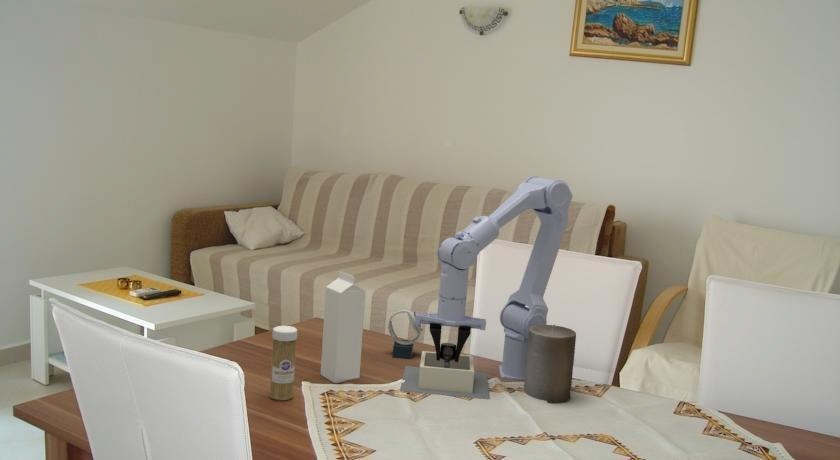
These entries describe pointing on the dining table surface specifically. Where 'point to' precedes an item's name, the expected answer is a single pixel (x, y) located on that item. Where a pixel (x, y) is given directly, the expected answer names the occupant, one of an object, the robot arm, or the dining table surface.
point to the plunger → (447, 353)
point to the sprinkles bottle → (283, 362)
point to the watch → (404, 347)
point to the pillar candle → (550, 362)
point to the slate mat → (412, 386)
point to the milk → (342, 329)
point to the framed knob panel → (446, 373)
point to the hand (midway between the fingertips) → (447, 360)
